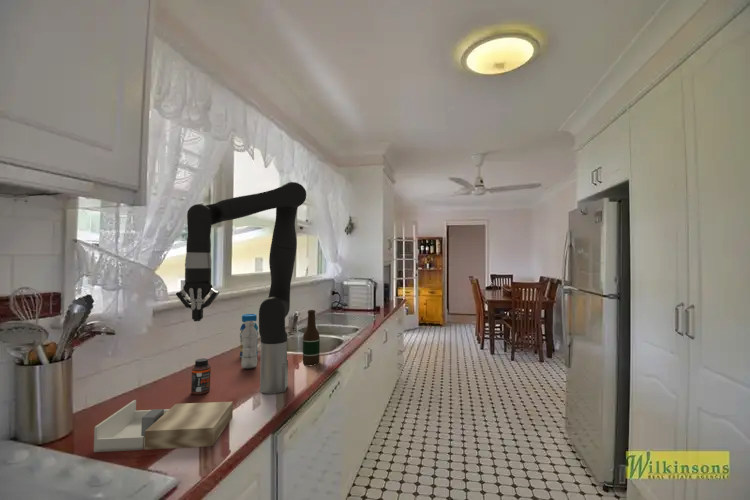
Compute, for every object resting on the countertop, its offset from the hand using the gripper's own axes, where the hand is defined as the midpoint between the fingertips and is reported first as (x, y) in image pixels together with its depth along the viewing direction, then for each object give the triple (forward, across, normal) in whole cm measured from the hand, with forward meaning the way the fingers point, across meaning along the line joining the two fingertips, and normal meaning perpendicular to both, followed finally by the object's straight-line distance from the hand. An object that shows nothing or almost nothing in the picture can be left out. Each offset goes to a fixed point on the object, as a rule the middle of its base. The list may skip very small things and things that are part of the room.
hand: (197, 320), depth 110 cm
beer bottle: (+27, -33, -42) cm, 60 cm away
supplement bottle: (+27, +3, -12) cm, 30 cm away
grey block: (+24, +3, +17) cm, 30 cm away
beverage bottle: (+27, -2, -57) cm, 63 cm away
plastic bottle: (+27, -7, -38) cm, 47 cm away
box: (+27, +8, +17) cm, 33 cm away
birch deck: (+27, -6, +17) cm, 32 cm away
